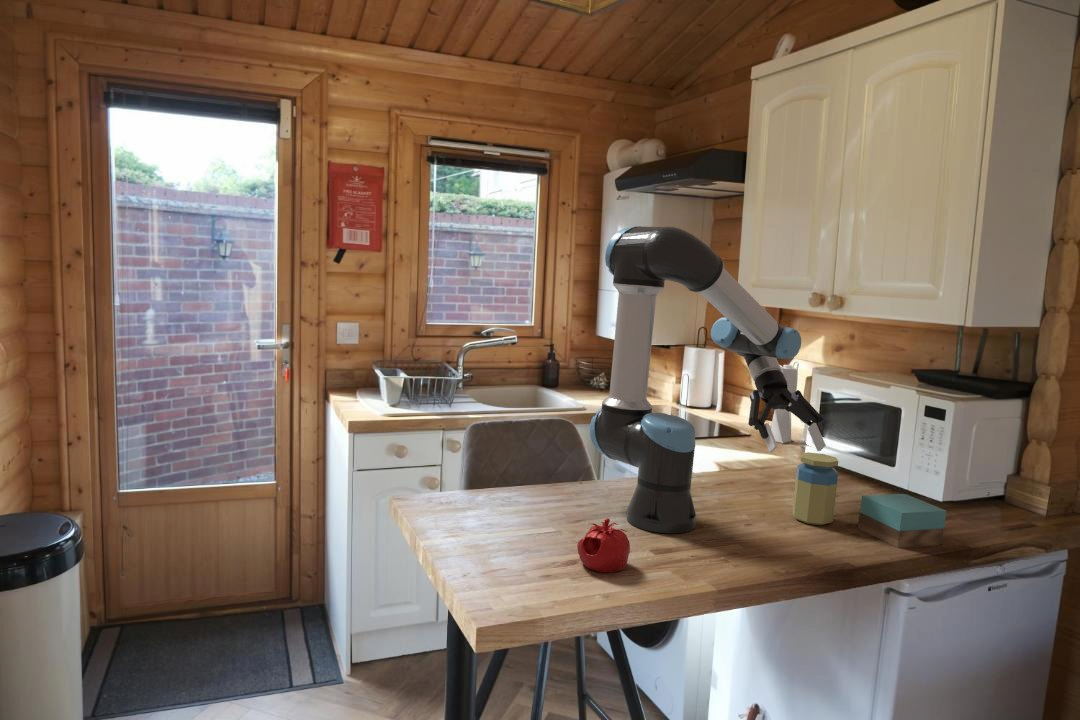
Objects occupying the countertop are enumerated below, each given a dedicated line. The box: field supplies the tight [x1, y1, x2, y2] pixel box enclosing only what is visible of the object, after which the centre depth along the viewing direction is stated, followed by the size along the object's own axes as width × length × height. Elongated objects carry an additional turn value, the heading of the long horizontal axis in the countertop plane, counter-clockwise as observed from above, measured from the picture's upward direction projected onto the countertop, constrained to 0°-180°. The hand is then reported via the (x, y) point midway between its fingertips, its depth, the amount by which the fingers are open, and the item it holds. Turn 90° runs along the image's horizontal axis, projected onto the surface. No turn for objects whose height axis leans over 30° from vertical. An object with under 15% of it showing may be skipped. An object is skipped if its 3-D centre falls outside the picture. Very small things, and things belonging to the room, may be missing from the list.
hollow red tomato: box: [577, 517, 631, 574], centre depth 140 cm, size 10×10×9 cm
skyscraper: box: [770, 361, 800, 445], centre depth 255 cm, size 8×8×28 cm
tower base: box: [857, 512, 945, 549], centre depth 167 cm, size 12×12×4 cm
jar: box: [791, 451, 839, 526], centre depth 174 cm, size 9×9×15 cm
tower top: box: [859, 493, 947, 531], centre depth 167 cm, size 12×12×4 cm
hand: (797, 449), depth 181 cm, fingers open, 13 cm apart
